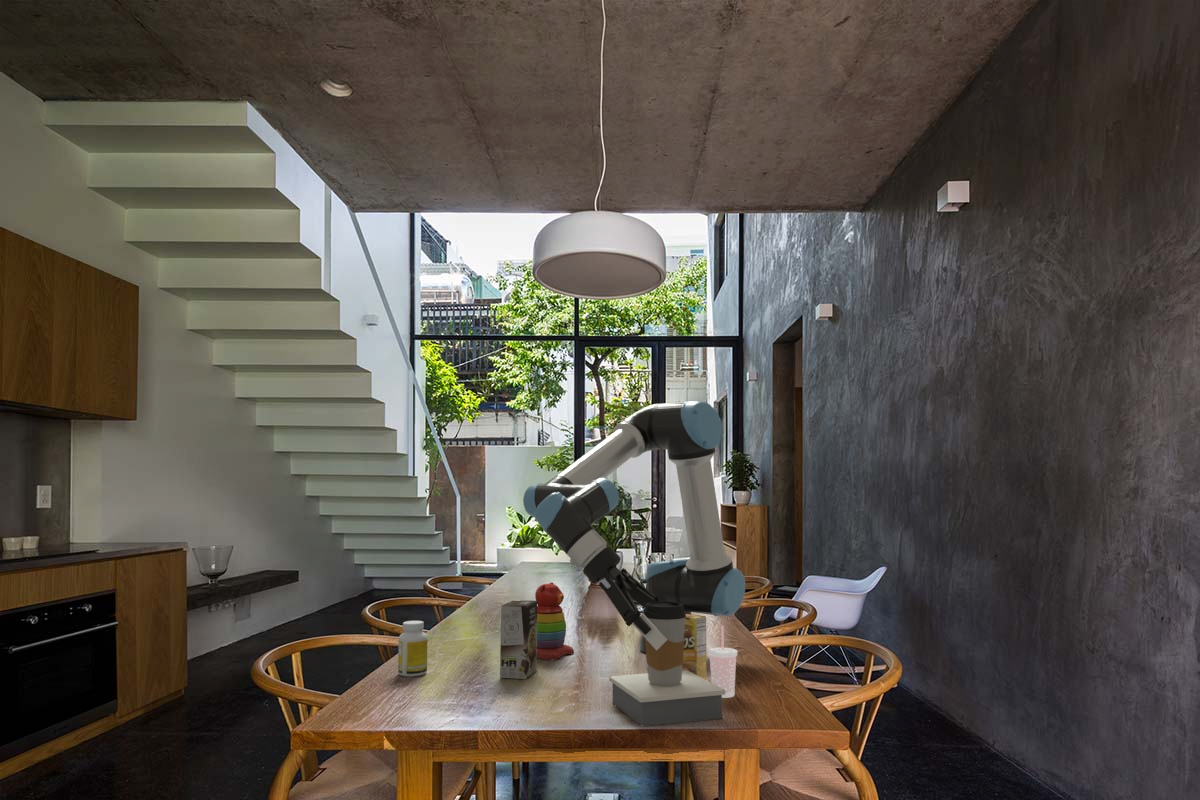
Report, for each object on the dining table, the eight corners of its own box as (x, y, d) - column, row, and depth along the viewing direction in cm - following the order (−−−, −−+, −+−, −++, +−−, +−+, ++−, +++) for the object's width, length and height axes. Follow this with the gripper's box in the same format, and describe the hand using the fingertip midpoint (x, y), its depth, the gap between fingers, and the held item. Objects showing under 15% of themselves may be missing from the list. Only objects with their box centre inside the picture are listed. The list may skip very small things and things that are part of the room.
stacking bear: (553, 661, 202) (554, 587, 204) (520, 656, 207) (520, 584, 209) (576, 652, 212) (577, 582, 213) (544, 648, 217) (544, 579, 218)
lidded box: (687, 695, 170) (686, 670, 170) (725, 718, 154) (725, 690, 154) (609, 703, 165) (609, 676, 165) (640, 727, 149) (640, 697, 149)
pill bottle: (432, 674, 189) (433, 622, 190) (408, 679, 184) (409, 625, 185) (416, 669, 193) (417, 618, 194) (392, 674, 189) (393, 622, 190)
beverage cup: (719, 700, 167) (718, 629, 168) (702, 693, 172) (701, 624, 174) (744, 696, 170) (743, 626, 171) (726, 689, 175) (725, 622, 176)
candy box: (662, 686, 178) (661, 613, 180) (673, 682, 181) (673, 611, 183) (696, 693, 172) (696, 618, 174) (707, 689, 176) (707, 615, 177)
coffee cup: (690, 679, 162) (690, 602, 164) (680, 690, 154) (680, 608, 156) (650, 676, 165) (649, 600, 166) (638, 686, 157) (637, 606, 159)
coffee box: (526, 679, 184) (527, 605, 185) (499, 678, 185) (499, 605, 186) (537, 670, 192) (538, 600, 194) (511, 669, 194) (512, 599, 195)
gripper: (599, 564, 178) (667, 639, 173) (562, 577, 154) (641, 665, 149) (623, 540, 177) (692, 614, 172) (590, 549, 153) (670, 637, 148)
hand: (669, 638), depth 160 cm, fingers open, 13 cm apart
